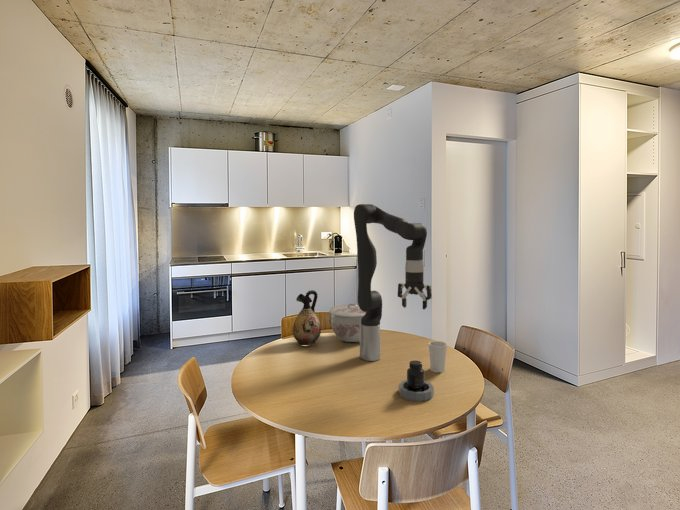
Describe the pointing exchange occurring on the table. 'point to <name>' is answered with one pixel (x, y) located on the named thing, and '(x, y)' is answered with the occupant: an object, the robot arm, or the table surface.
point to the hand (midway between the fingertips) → (414, 308)
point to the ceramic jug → (307, 321)
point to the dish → (416, 396)
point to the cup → (437, 356)
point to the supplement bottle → (415, 377)
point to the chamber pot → (347, 322)
